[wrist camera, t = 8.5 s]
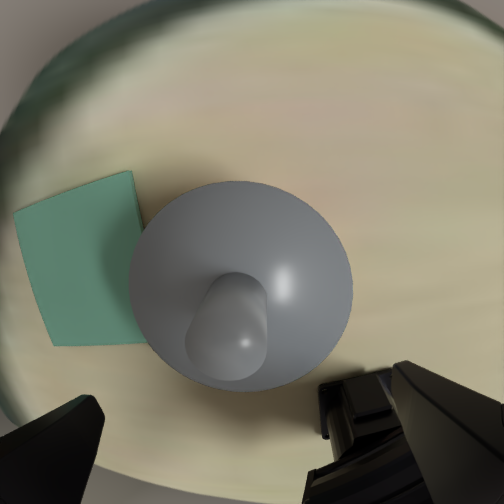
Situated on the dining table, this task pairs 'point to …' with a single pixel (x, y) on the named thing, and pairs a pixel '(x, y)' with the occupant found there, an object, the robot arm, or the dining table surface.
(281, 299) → the lid
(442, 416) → the robot arm
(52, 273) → the mat
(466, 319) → the dining table surface
